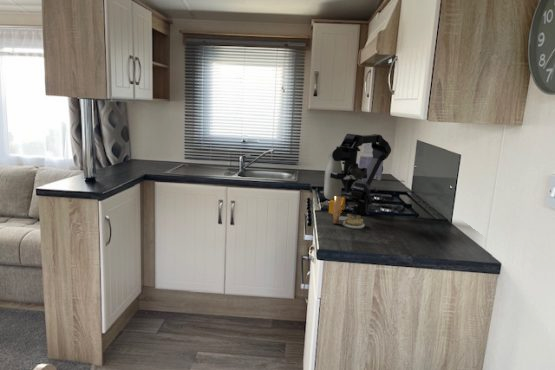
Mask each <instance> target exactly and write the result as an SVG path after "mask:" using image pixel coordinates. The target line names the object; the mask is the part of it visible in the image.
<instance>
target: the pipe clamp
mask: <svg viewBox="0 0 555 370" xmlns="http://www.w3.org/2000/svg"><path fill="white" fill-rule="evenodd" d="M328 203H329V204H328V214H332V215H333V209H334V200H329V202H328ZM345 207H346V198H345V197H342V200H341V211H340V214H342V213H343V211H345ZM342 210H343V211H342Z"/></svg>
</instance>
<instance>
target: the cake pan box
mask: <svg viewBox="0 0 555 370" xmlns="http://www.w3.org/2000/svg"><path fill="white" fill-rule="evenodd" d="M372 158H373V156H370V155H359V157H358V167H359V168H361V169H362V168H366V169H367V168H368V166H369V164H370V162H371V160H372ZM383 171H384V160H383V161H382V162H381V164H380V166H379V168H378V170H377V172H376V174H375V176H374V178H373V179H377V180H376V181H381V180H382V175H383Z"/></svg>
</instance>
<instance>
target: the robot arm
mask: <svg viewBox="0 0 555 370" xmlns="http://www.w3.org/2000/svg"><path fill="white" fill-rule="evenodd" d="M365 144H371V149H372V151H371V154H372V157H373V158H372V160H371V162H370V164H369V166H368V168H367V169H366V168H362V169H361V168H359V167H358V163H359V162H358V163H357V160H358V152H361V149H360V147H361V146H363V145H365ZM391 152H392V147H391V146H390V144H389V142H388V141H387V140H386V139H385V138H384V137H383V135H381V134H376V133H372V134H363V135H361V134H355V133H347V134H345V136H344V137H343V140H342V141H341V143H340V145H338V146H336V147H335V149H334V150H333V153H332V157H333V159H334V160H335V161H341V165H343V168H342V173H341V172H331V174H330V178H334V179H341V181H342V187H343V188H344V191H345V193H346V194H349V193H350V191H351V199H352V201H353V202H354V204H353V211H351V213H353V214H355V215H356V216H357V215H361V216H367V215H368V216H369V215H370V213H369V212H368V210H369V209H368V208H369V205H371V204H372V201H373V197H372V195H371V183H372V182H373V181H374V180H373V178H374V176H375V174H376V172H377V170H378V168H379V166H380V164H381V162H382V161H383V162H384V161H385V160H387V158H388V157H389V156H390V154H391ZM358 178H361V179H360V181H359V182H357V181H358V180H359V179H358ZM351 189H352V190H351Z"/></svg>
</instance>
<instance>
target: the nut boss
mask: <svg viewBox="0 0 555 370" xmlns="http://www.w3.org/2000/svg"><path fill="white" fill-rule="evenodd" d="M342 226H343V227H345V228H347V229H348V228H349V229H354V230H361V229H364V228H365V226H366V225H365V223H364V222H363V224H362V225H358V226H356V225H349V224H346V223H345V220H343V221H342Z"/></svg>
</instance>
